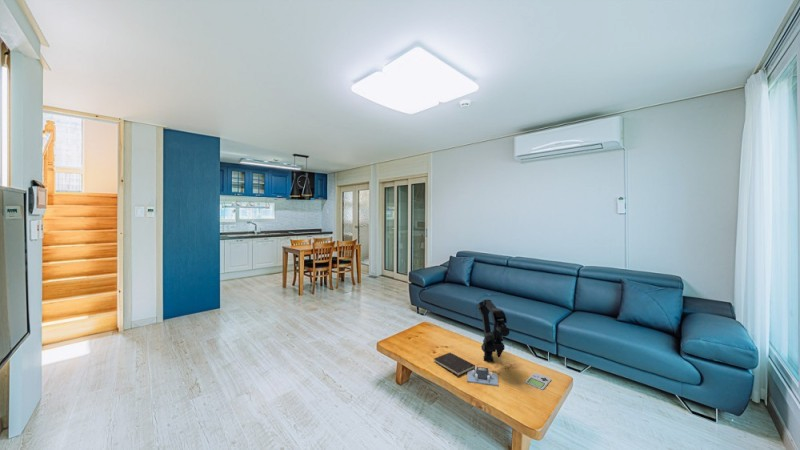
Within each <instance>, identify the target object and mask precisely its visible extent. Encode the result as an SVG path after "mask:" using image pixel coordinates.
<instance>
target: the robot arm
mask: <svg viewBox="0 0 800 450" xmlns="http://www.w3.org/2000/svg"><path fill="white" fill-rule="evenodd" d="M477 310H478V312H479V314H480V315H481V318H482V319H481V320H482V326H483V337H484V338H483V340H482V344H481V351H482V352H483V361H484V362H491V363H492V362H493V363H494V355H493V354H494V353H496V356H497V357H498V358H500V357H501V355H502V354H503V351H504V350H505V348H506V346H505V343H504V338H505V337H508V336H509V334H510V329H509V328H508V327H507V325H506V324H508V322H507V319H508V318H507V317H506V314H505V312H504V311H503V309H501V308H498V307H497V306H496V305H495V304H494V303H493V302H492V300H491V299H483V300H482V301H480V302H478V304H477ZM489 314H491V320H492V321H493V326H492V328H493V329H491V323H490V316H489ZM491 330H492V331H491ZM503 337H504V338H503Z"/></svg>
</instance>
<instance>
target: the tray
mask: <svg viewBox="0 0 800 450" xmlns="http://www.w3.org/2000/svg"><path fill="white" fill-rule="evenodd" d="M476 367H477V366H475V369H472V370H470V371H468V372H466V373H467V376H466V377H467V379H466V383H472V384H480V385H486V386H493V387H499V380H498V374H497V373H493V372H492V371H490V368H488V376H487V380H485V379H478V374H476Z"/></svg>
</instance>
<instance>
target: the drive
mask: <svg viewBox="0 0 800 450" xmlns="http://www.w3.org/2000/svg"><path fill="white" fill-rule="evenodd" d="M475 367H476V374H478V379H485V380H487V376H488V369H489V367H483V366H475Z"/></svg>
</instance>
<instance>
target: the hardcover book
mask: <svg viewBox="0 0 800 450" xmlns="http://www.w3.org/2000/svg"><path fill="white" fill-rule="evenodd" d="M433 363H435V364H437V365H438V366H440V367H442V368H443V369H445V370H447V371H449V372H450V373H452V374H454V375H456V376H457V377H459V376H461V375H464V374H466V373H468V371H470V370H471V371H473V370H475V367H476V365H475V364H474V363H472V362H470V361H468V360H465V359H464V358H462V357H460V356H458V355H456V354H454V353H452V352H448V353H444V354H443V355H440V356H437V357H434V358H433Z"/></svg>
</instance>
